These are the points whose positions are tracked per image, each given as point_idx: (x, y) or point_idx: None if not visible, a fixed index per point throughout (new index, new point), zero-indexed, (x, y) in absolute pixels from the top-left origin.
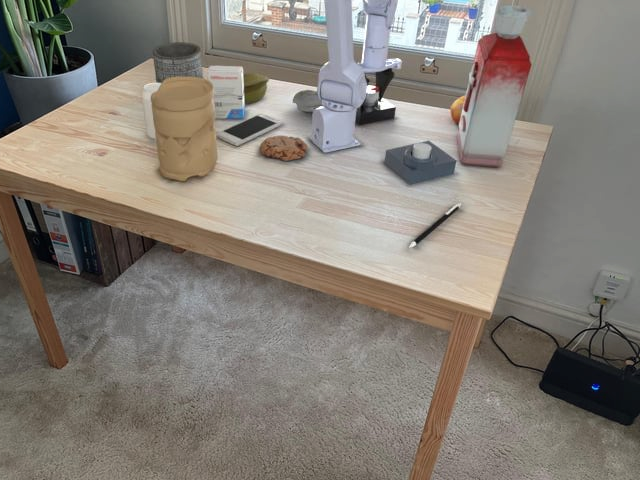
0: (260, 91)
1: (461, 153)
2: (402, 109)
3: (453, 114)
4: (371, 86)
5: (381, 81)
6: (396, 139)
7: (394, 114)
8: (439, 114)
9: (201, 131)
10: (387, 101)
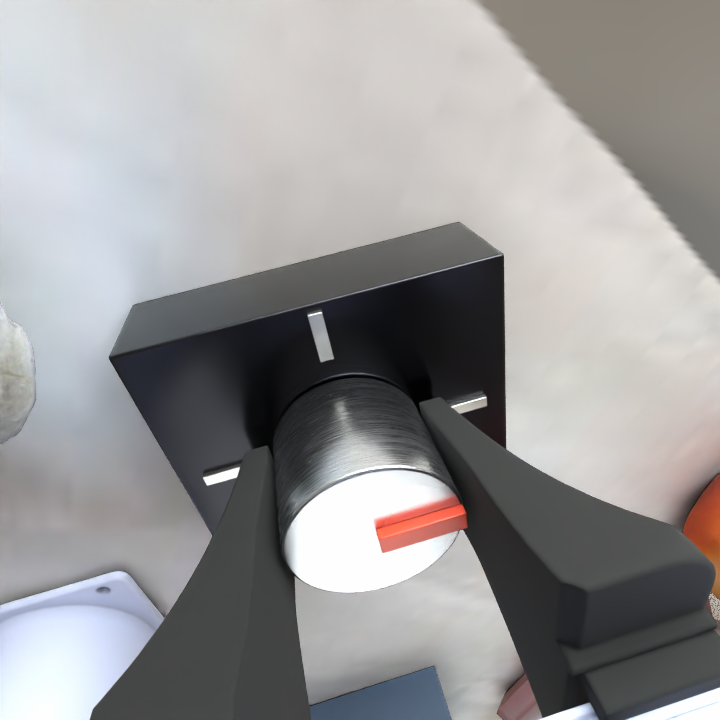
0: None
1: (520, 706)
2: (591, 323)
3: (706, 554)
4: (413, 480)
5: (506, 595)
6: (377, 602)
7: None
8: (716, 403)
9: None
10: (500, 414)
